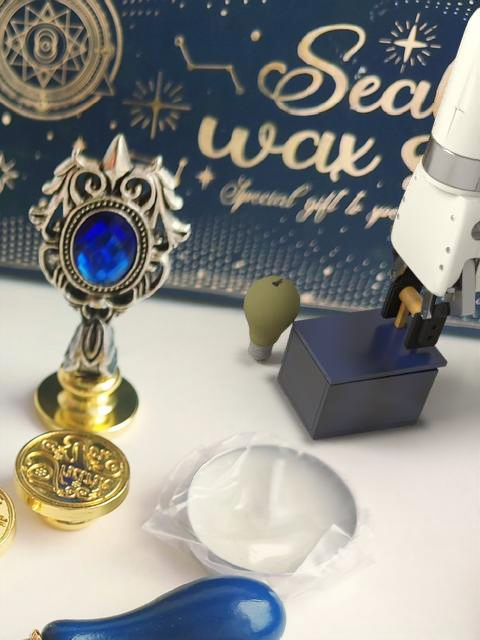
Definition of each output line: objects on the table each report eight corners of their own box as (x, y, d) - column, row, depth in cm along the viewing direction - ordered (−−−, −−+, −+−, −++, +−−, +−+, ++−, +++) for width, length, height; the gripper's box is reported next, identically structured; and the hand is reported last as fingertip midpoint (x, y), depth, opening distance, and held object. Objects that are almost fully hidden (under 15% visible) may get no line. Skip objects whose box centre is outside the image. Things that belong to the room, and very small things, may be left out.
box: (375, 366, 114) (395, 312, 109) (416, 424, 108) (439, 370, 103) (276, 380, 113) (291, 326, 108) (312, 439, 107) (330, 385, 102)
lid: (401, 309, 109) (415, 267, 105) (446, 366, 103) (462, 325, 99) (291, 325, 108) (301, 284, 104) (330, 385, 102) (342, 343, 98)
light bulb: (277, 381, 113) (298, 303, 105) (225, 366, 114) (243, 288, 107) (290, 350, 116) (312, 273, 109) (239, 336, 118) (258, 259, 110)
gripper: (566, 206, 86) (486, 380, 100) (462, 107, 97) (403, 276, 111) (480, 217, 85) (411, 391, 99) (384, 115, 96) (334, 285, 110)
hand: (407, 328), depth 105 cm, fingers closed on lid, 4 cm apart
